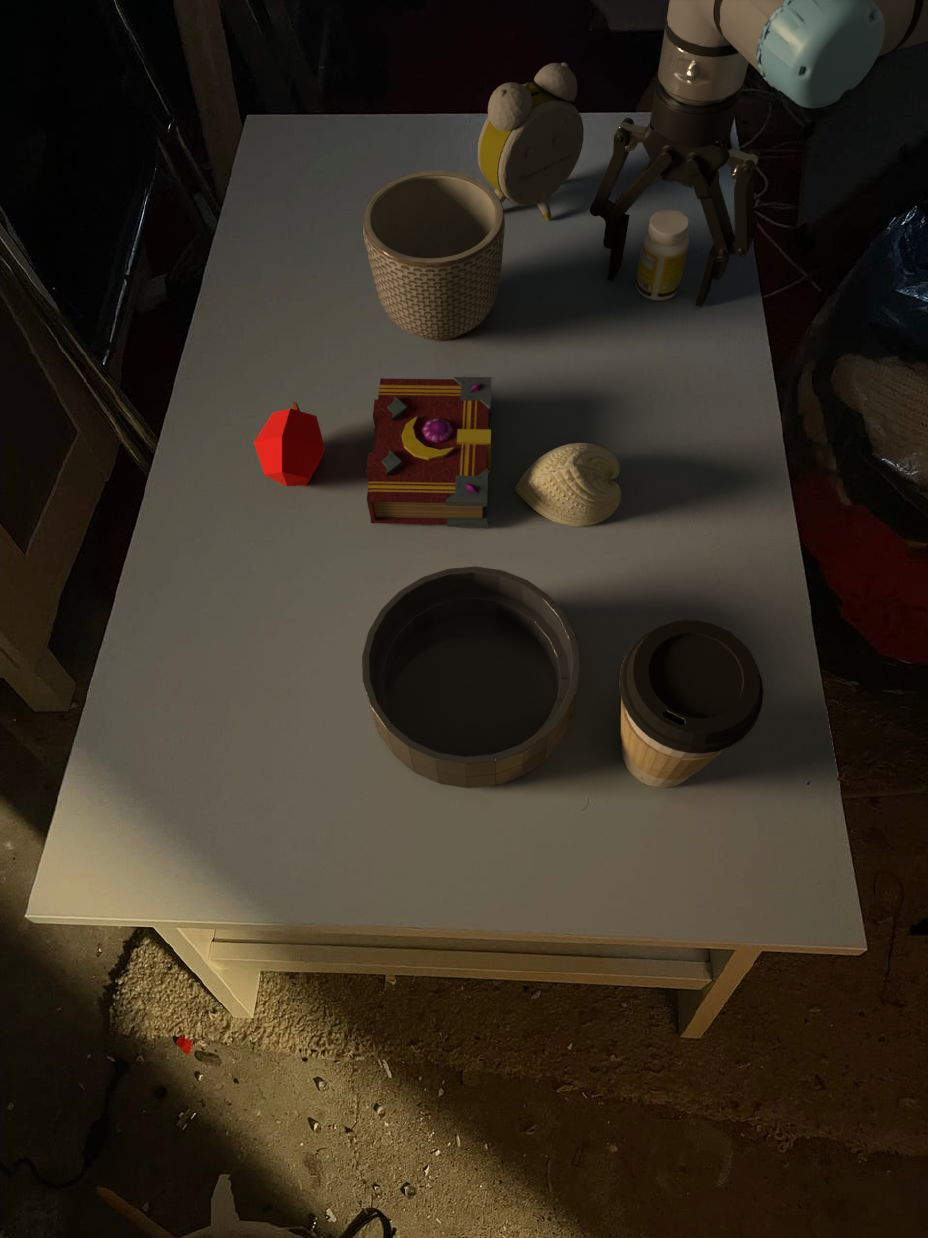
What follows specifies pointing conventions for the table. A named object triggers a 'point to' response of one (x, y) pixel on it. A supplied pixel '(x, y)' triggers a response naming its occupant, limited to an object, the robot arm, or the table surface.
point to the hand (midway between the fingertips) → (657, 284)
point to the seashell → (573, 485)
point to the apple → (290, 446)
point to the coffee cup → (685, 699)
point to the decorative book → (431, 452)
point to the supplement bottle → (663, 255)
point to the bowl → (471, 676)
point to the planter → (435, 251)
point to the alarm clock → (532, 137)
